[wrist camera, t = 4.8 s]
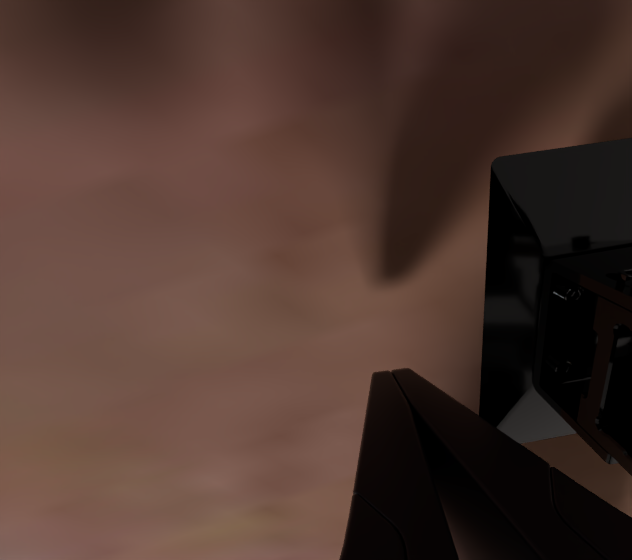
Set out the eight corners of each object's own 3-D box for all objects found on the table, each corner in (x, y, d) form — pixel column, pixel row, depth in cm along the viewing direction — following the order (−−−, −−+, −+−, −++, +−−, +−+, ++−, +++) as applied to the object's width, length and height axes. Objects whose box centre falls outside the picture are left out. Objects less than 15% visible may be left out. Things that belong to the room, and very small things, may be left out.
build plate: (446, 94, 8) (617, 41, 4) (744, 46, 8) (1223, -56, 4) (451, 470, 13) (533, 634, 9) (644, 436, 13) (821, 582, 9)
